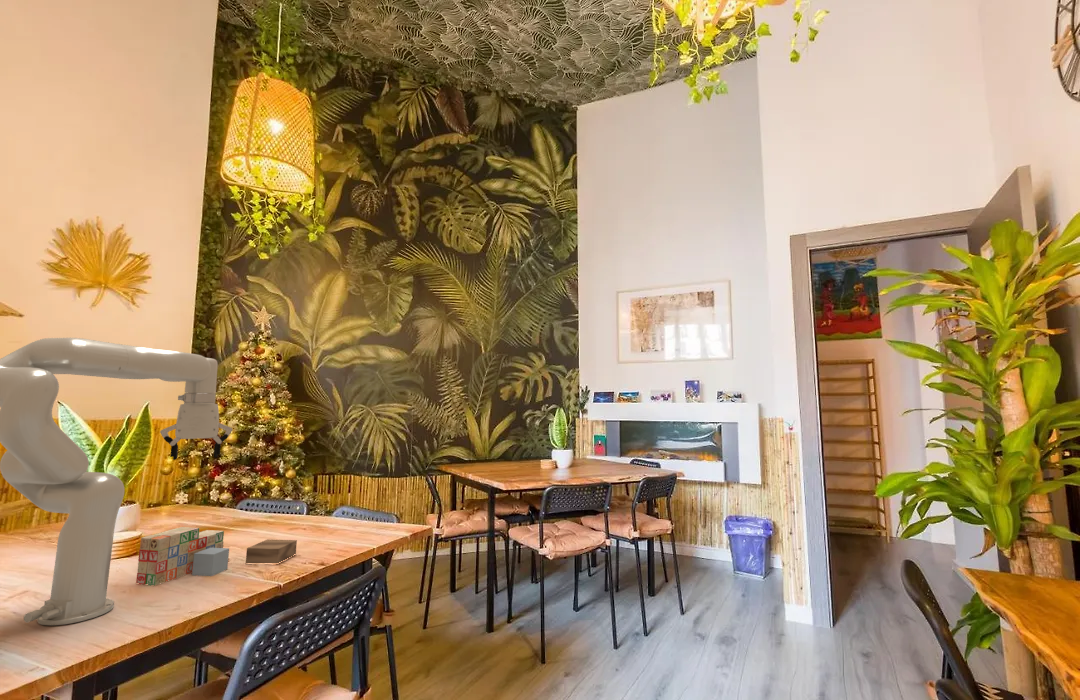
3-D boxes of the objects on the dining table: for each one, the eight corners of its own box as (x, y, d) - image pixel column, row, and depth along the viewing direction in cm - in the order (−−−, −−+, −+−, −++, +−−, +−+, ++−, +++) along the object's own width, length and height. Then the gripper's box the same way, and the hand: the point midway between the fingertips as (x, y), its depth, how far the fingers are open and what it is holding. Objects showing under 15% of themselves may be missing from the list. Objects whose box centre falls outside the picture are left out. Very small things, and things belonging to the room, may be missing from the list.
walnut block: (277, 566, 145) (278, 549, 146) (245, 565, 145) (246, 548, 146) (295, 556, 155) (296, 540, 155) (265, 555, 155) (267, 539, 156)
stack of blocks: (205, 560, 149) (209, 519, 150) (222, 562, 148) (225, 520, 149) (135, 584, 128) (140, 536, 130) (154, 586, 127) (159, 538, 128)
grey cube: (211, 576, 135) (213, 554, 136) (192, 575, 135) (194, 553, 136) (227, 569, 141) (229, 548, 142) (208, 568, 141) (210, 547, 142)
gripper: (161, 399, 133) (156, 461, 132) (234, 399, 143) (230, 457, 141) (164, 399, 140) (159, 458, 138) (234, 399, 149) (230, 455, 147)
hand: (195, 458), depth 139 cm, fingers open, 9 cm apart
